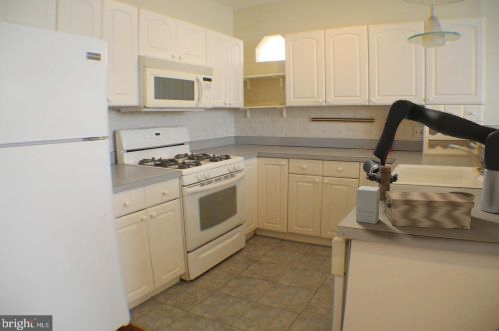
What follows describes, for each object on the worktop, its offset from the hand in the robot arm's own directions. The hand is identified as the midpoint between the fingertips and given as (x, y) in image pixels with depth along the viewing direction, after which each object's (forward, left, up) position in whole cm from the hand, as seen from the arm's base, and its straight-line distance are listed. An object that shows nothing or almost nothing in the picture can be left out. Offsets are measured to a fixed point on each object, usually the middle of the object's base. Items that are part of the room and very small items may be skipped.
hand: (385, 180), depth 151 cm
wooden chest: (-12, +11, -12) cm, 21 cm away
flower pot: (-28, +3, -13) cm, 31 cm away
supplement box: (+9, +16, -13) cm, 23 cm away
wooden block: (0, -3, -8) cm, 9 cm away
